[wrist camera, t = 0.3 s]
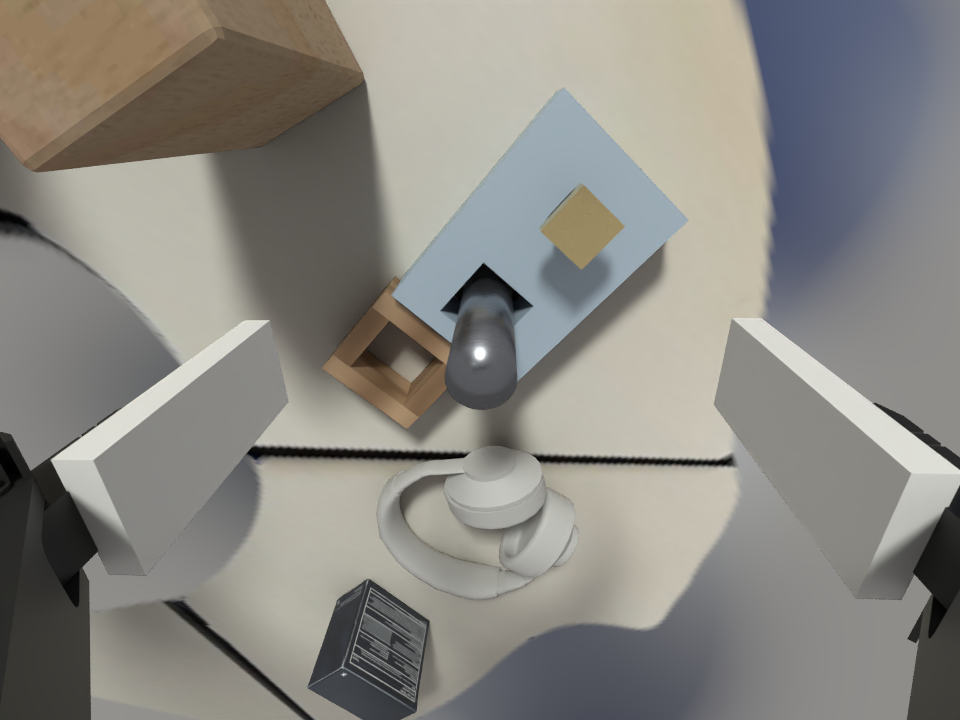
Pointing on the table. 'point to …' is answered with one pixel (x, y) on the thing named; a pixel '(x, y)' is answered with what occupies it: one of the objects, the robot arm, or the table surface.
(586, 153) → the socket block
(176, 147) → the wooden block
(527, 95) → the table surface
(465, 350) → the cylinder
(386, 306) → the rack
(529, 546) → the headphones
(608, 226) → the small square tan block
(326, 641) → the small box
